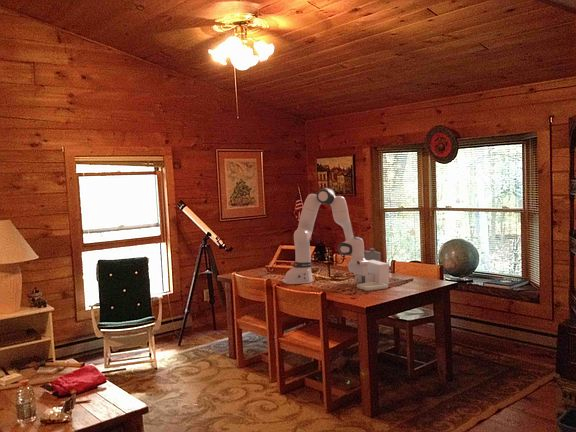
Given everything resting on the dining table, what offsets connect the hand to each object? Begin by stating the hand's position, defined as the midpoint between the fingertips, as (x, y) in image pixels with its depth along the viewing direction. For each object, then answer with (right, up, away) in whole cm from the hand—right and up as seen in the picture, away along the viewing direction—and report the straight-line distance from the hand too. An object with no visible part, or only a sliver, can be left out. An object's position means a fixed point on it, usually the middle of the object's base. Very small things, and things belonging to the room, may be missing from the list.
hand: (357, 280), depth 379 cm
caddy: (+3, -2, +2) cm, 4 cm away
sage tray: (+8, -4, -14) cm, 16 cm away
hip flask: (+15, 0, +33) cm, 36 cm away
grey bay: (+10, -2, +5) cm, 12 cm away
